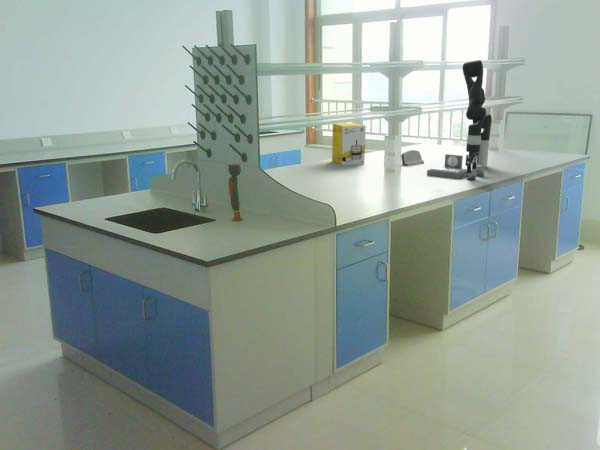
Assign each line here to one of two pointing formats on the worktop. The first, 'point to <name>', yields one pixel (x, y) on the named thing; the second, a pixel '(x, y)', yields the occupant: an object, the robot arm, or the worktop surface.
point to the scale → (449, 168)
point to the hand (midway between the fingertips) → (471, 171)
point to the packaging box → (348, 144)
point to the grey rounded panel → (411, 158)
